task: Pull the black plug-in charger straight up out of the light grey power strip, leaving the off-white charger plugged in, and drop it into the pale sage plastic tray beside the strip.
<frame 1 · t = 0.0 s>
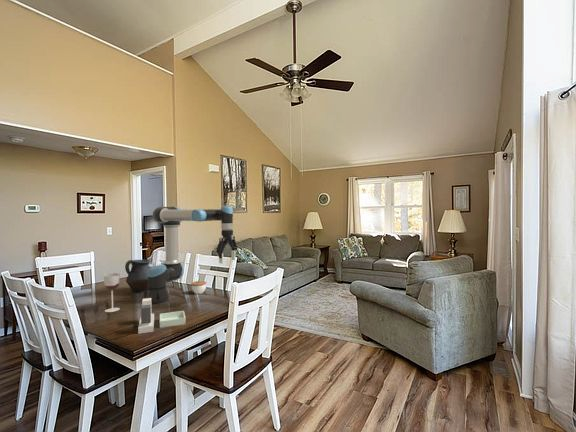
hand: (227, 261, 200), 28 cm above the table, tool pointing down, fingers open, 13 cm apart
white round bowl: (198, 293, 227), on the table
black charger: (146, 324, 157), point 3 cm above the table, touching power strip
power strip: (146, 325, 163), on the table
white charger: (147, 316, 169), point 3 cm above the table, touching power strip
tray: (172, 322, 168), on the table
pitcher: (140, 291, 233), on the table
wineglass: (112, 310, 189), on the table
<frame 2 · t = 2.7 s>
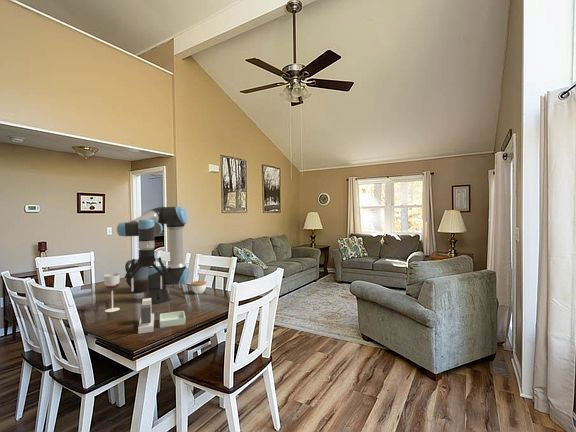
hand: (147, 289, 157), 21 cm above the table, tool pointing down, fingers open, 13 cm apart
nothing on the table moved.
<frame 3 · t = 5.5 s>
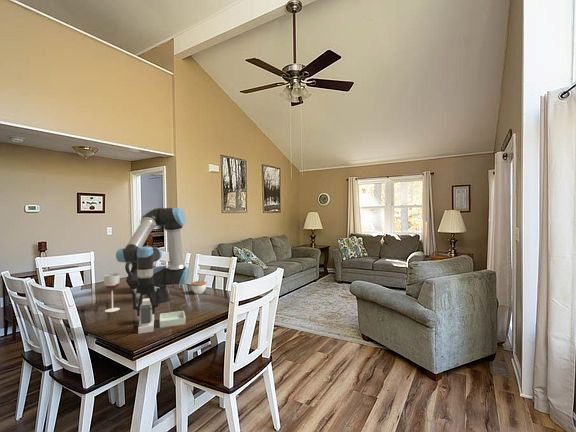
hand: (146, 321, 157), 5 cm above the table, tool pointing down, fingers closed on black charger, 4 cm apart
black charger: (146, 324, 157), point 3 cm above the table, touching gripper, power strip
everything else where it was.
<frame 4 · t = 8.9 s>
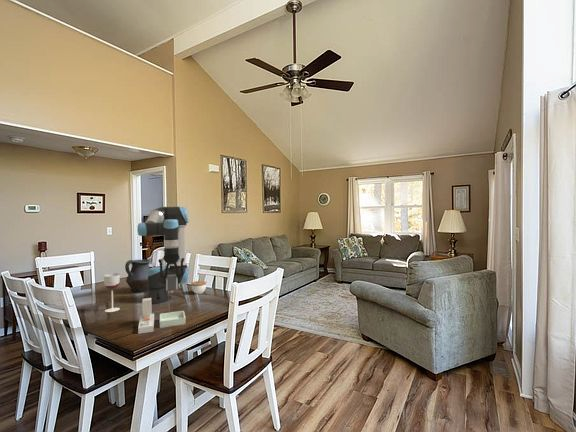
hand: (171, 289, 168), 19 cm above the table, tool pointing down, fingers closed on black charger, 4 cm apart
black charger: (171, 292, 168), point 17 cm above the table, touching gripper
everything else where it was.
when the fingers open (4 cm above the table, at t = 12.2 s): black charger drops 2 cm, resting on tray.
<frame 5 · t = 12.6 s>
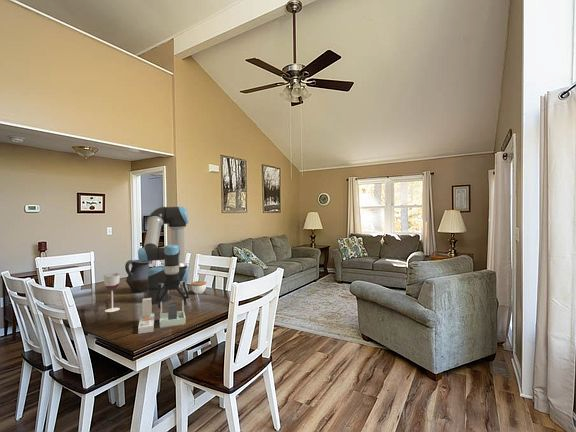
hand: (172, 312, 168), 5 cm above the table, tool pointing down, fingers open, 10 cm apart
black charger: (172, 321, 168), point 1 cm above the table, touching tray
everything else where it was.
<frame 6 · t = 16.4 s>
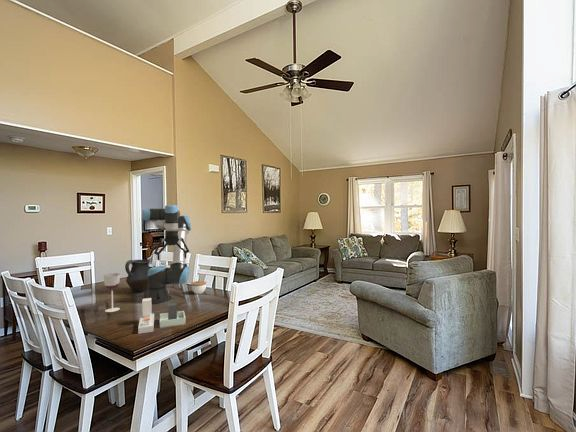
hand: (172, 264, 187), 29 cm above the table, tool pointing down, fingers open, 13 cm apart
nothing on the table moved.
at the end: black charger inside the target area on the tray (0.0 cm from its centre), point 0.6 cm above the tray's base; the gripper is holding nothing; white charger moved 0.0 cm from its start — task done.
